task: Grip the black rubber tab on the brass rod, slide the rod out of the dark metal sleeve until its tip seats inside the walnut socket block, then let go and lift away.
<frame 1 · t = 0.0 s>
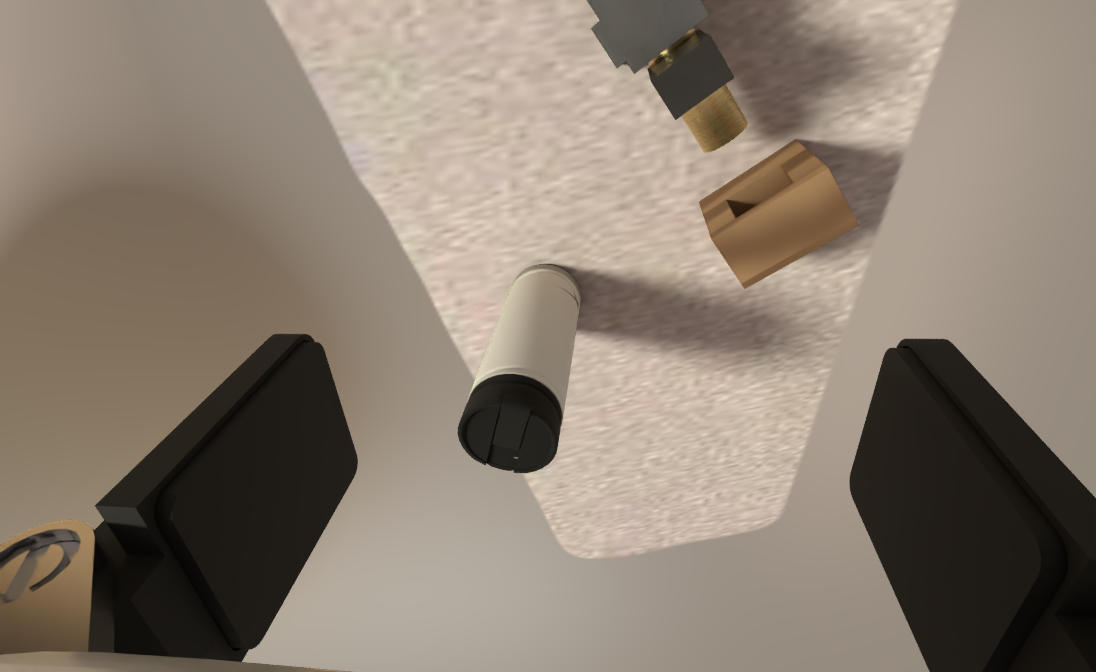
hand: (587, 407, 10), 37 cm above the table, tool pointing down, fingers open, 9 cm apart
travel mug: (546, 292, 51), on the table
walnut socket: (758, 192, 44), on the table
brass rod: (651, 13, 33), point 7 cm above the table, slide at 0.0 cm
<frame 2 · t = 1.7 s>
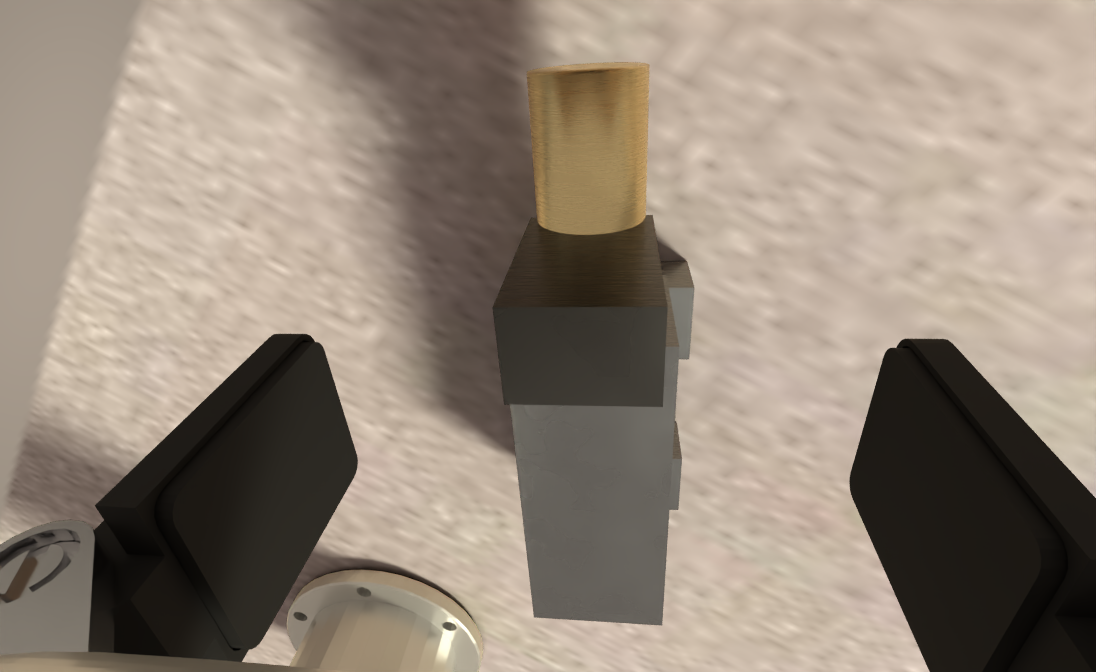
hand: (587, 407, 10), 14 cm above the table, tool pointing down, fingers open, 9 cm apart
metal sleeve: (600, 376, 26), on the table
brass rod: (591, 397, 17), point 7 cm above the table, slide at 0.0 cm
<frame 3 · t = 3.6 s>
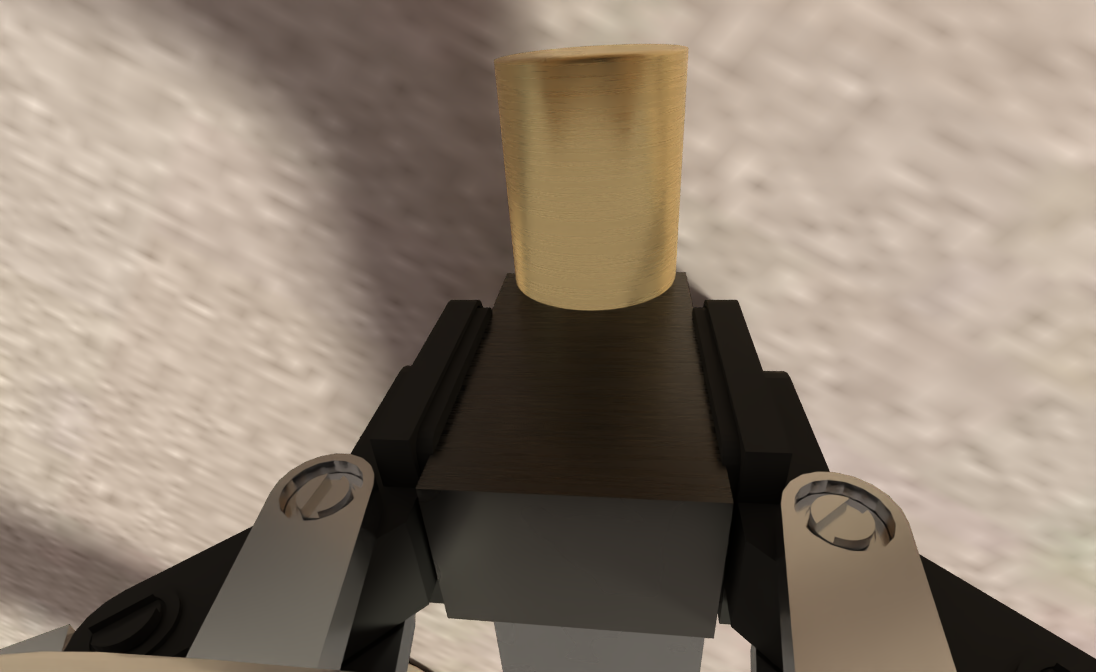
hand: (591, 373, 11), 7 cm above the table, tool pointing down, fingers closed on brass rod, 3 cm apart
metal sleeve: (606, 444, 20), on the table
brass rod: (594, 529, 12), point 7 cm above the table, slide at 0.0 cm, touching gripper
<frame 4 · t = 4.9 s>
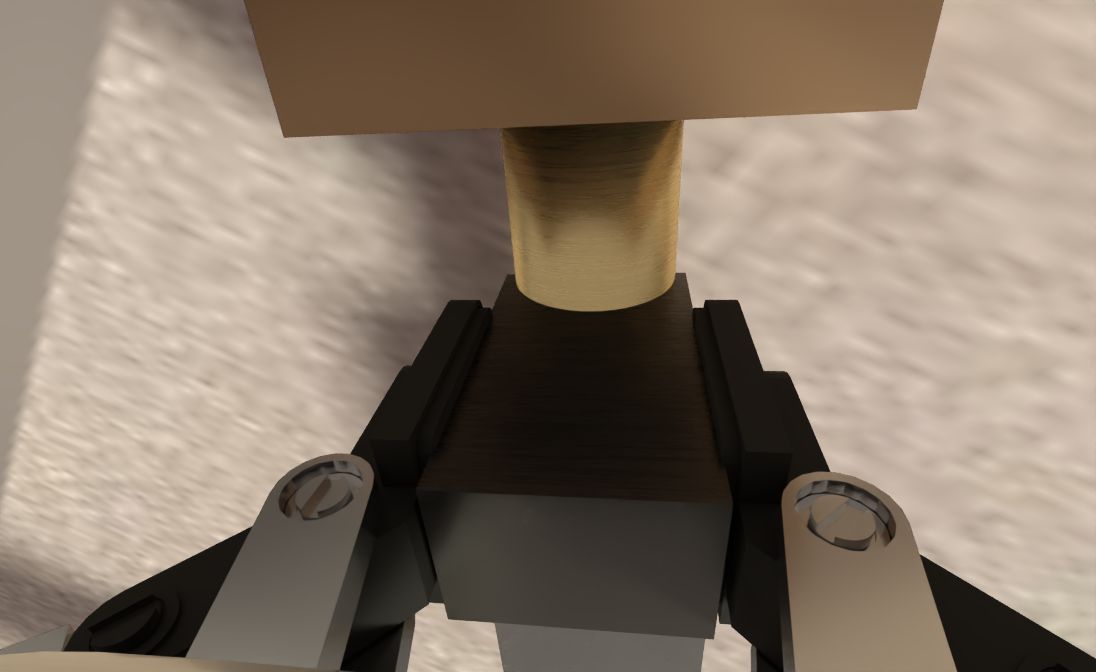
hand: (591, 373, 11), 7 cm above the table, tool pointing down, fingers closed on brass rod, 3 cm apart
metal sleeve: (608, 539, 23), on the table
brass rod: (594, 529, 12), point 7 cm above the table, slide at 5.1 cm, touching gripper
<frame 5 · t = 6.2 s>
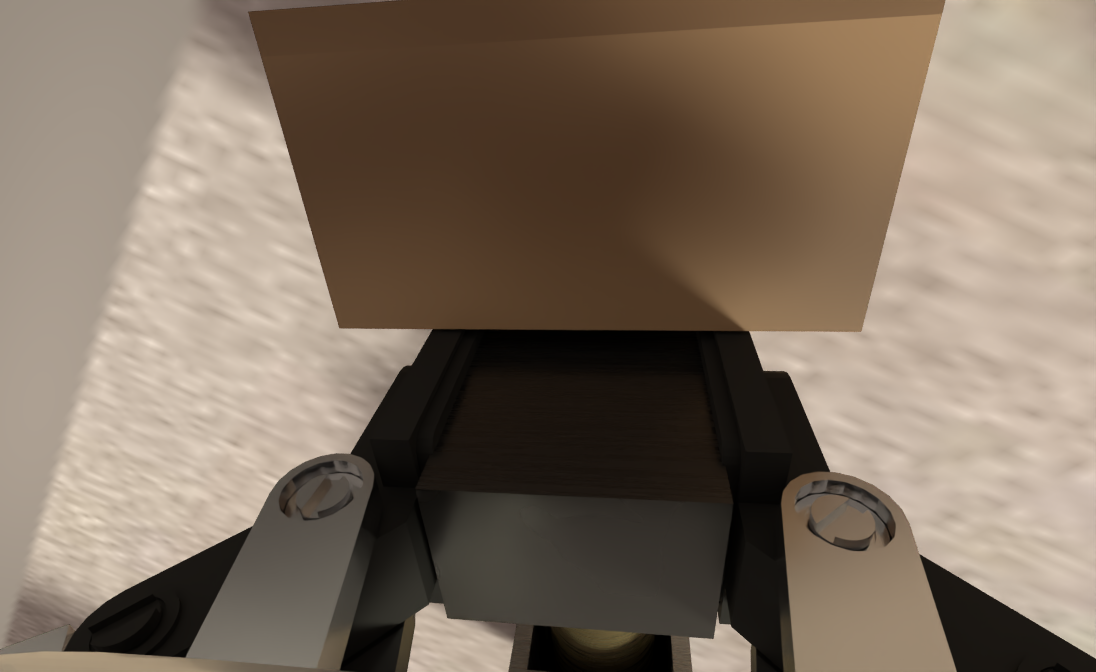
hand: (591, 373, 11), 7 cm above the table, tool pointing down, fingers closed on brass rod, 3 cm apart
metal sleeve: (608, 586, 24), on the table
walnut socket: (602, 104, 15), on the table
brass rod: (594, 529, 12), point 7 cm above the table, slide at 8.1 cm, touching gripper
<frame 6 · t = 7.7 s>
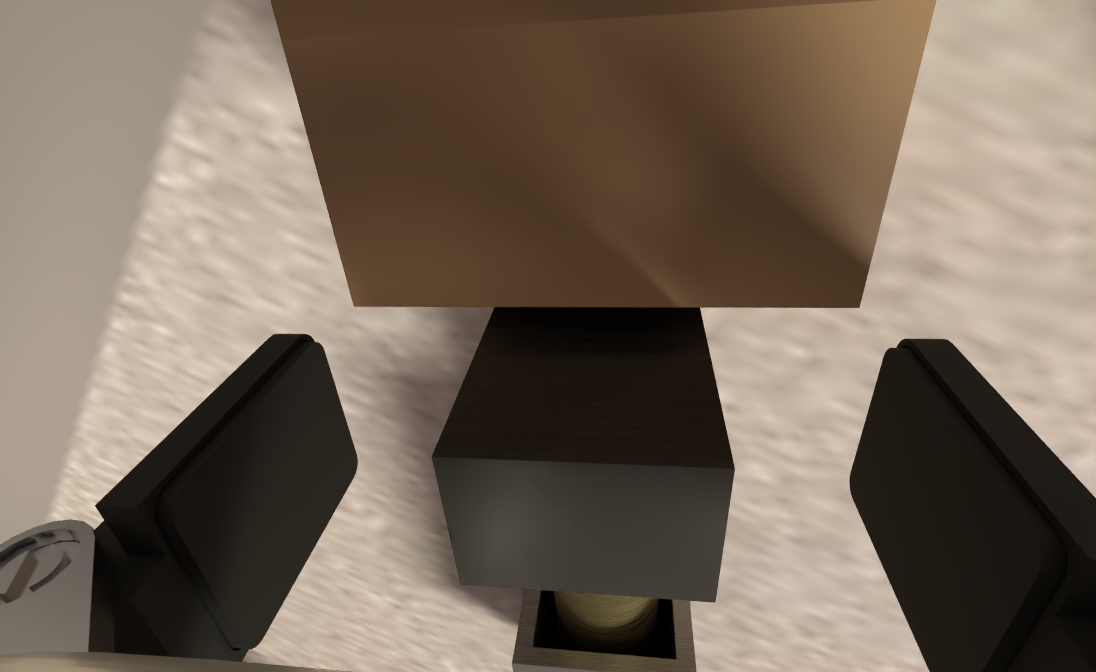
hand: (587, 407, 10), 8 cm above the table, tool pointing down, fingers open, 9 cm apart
metal sleeve: (611, 571, 25), on the table
walnut socket: (607, 92, 15), on the table
brass rod: (599, 507, 13), point 7 cm above the table, slide at 8.0 cm
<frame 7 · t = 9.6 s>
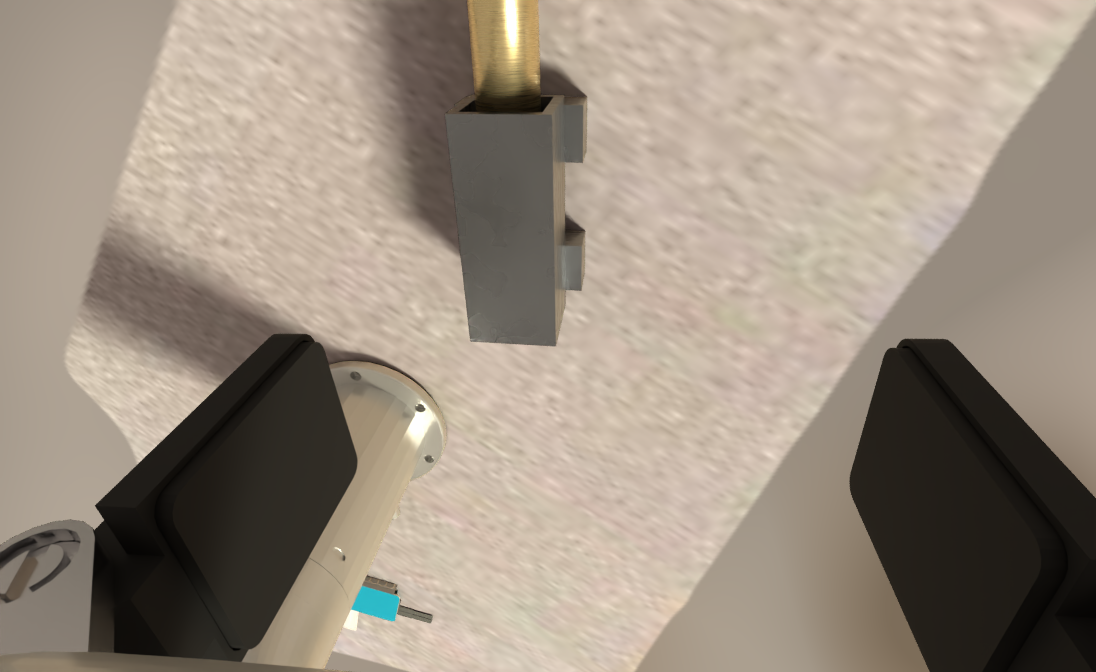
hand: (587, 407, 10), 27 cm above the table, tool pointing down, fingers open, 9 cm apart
metal sleeve: (529, 191, 35), on the table
cyan and grey device: (347, 591, 64), on the table
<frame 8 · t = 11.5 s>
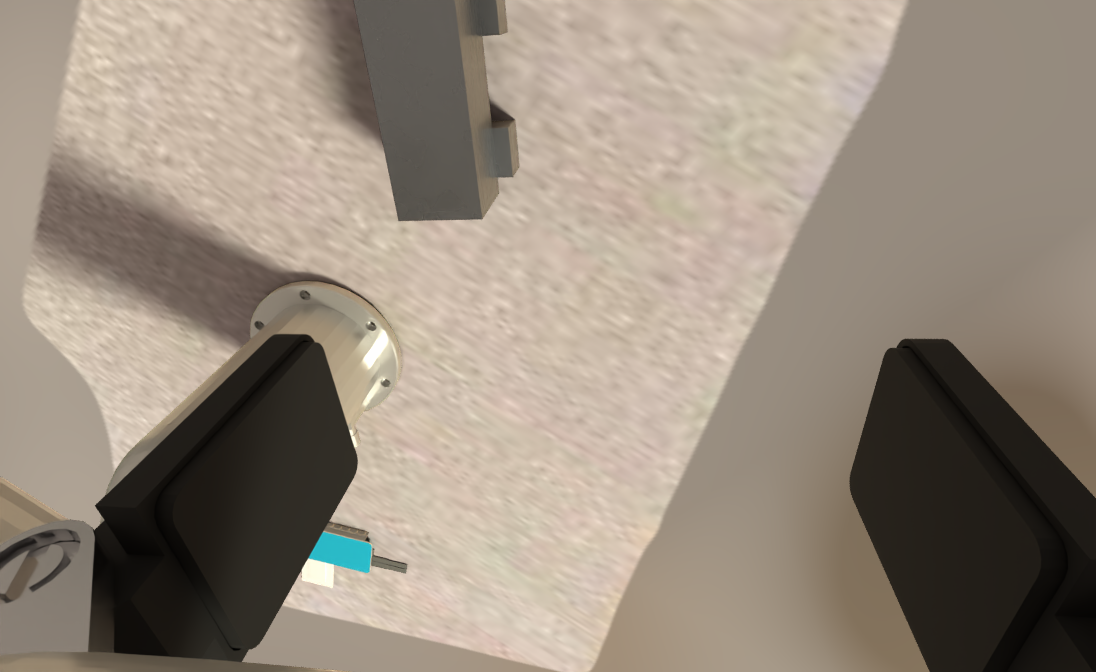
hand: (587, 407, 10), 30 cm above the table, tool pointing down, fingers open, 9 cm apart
metal sleeve: (456, 80, 36), on the table
cyan and grey device: (321, 544, 63), on the table
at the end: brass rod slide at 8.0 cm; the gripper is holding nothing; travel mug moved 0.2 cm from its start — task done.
